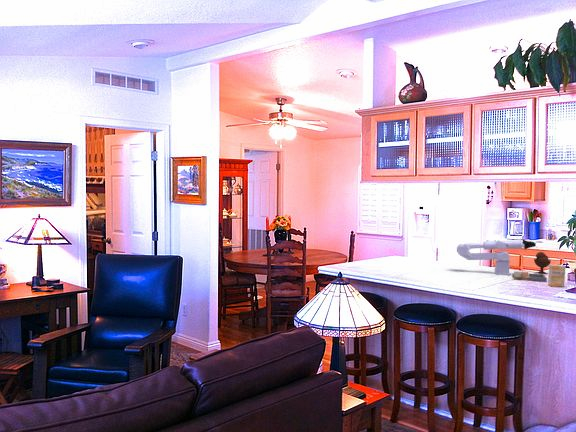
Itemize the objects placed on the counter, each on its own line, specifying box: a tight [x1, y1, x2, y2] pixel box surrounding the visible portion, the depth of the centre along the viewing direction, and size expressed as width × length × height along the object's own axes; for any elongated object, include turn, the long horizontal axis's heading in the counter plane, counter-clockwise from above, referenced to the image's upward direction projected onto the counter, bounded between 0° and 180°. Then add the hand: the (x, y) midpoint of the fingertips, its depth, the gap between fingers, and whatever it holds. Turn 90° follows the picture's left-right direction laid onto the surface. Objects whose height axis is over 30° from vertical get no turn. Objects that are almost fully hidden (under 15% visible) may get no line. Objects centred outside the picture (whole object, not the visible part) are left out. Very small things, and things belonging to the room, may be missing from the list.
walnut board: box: [511, 272, 532, 282], centre depth 373 cm, size 10×14×2 cm
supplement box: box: [547, 263, 566, 288], centre depth 348 cm, size 8×5×13 cm, turn 82°
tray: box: [528, 273, 548, 283], centre depth 371 cm, size 9×15×2 cm, turn 163°
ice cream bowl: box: [533, 251, 552, 275], centre depth 396 cm, size 11×11×15 cm
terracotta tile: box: [521, 271, 529, 276], centre depth 373 cm, size 4×4×2 cm
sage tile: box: [513, 270, 521, 276], centre depth 374 cm, size 4×4×2 cm
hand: (534, 244), depth 384 cm, fingers open, 7 cm apart
